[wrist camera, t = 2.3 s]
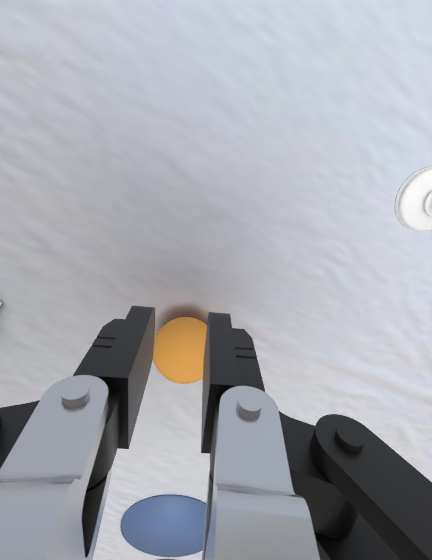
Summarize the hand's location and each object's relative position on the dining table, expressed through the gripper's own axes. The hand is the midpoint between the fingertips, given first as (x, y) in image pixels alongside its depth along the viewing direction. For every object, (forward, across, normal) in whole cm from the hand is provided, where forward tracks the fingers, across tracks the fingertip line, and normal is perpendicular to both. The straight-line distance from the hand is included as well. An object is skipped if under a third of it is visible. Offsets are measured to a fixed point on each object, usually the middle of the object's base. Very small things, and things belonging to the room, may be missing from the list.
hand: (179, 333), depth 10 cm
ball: (+12, 0, +10) cm, 16 cm away
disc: (+15, 0, +40) cm, 42 cm away
